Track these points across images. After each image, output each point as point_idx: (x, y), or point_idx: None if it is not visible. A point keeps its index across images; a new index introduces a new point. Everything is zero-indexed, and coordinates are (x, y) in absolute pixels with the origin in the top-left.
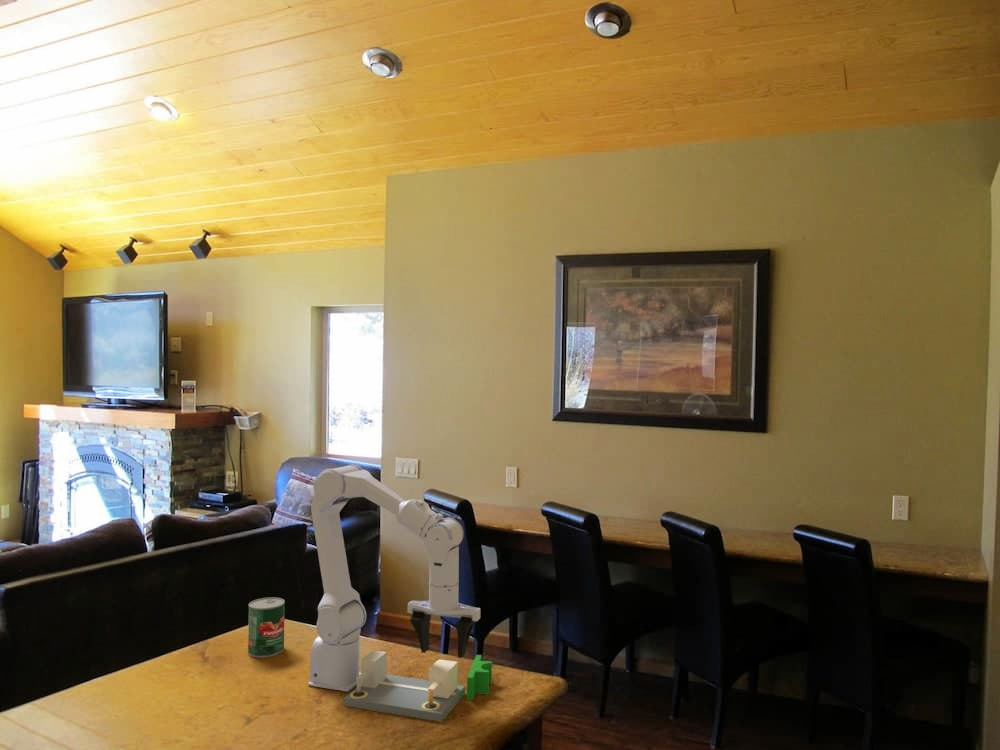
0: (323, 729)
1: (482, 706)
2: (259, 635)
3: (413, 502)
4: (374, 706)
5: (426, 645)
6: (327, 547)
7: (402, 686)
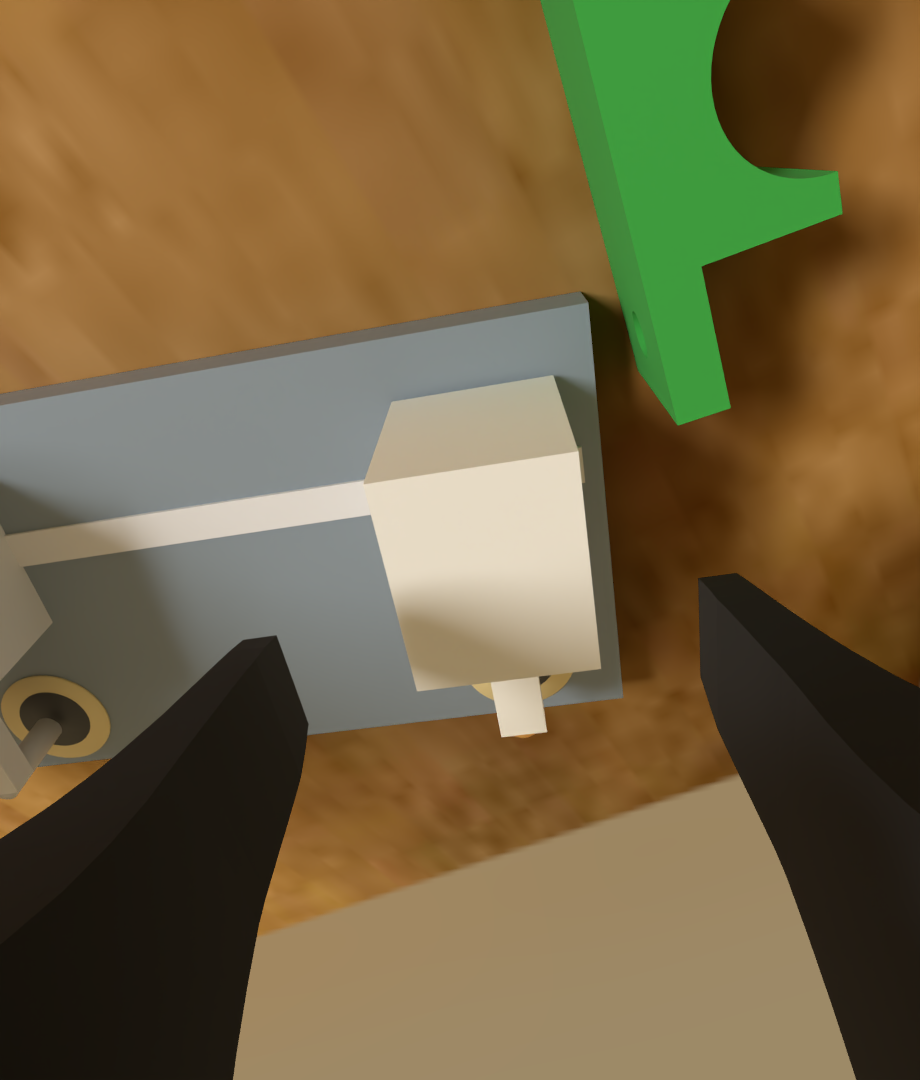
0: None
1: (781, 406)
2: None
3: None
4: None
5: (278, 729)
6: None
7: (182, 535)
